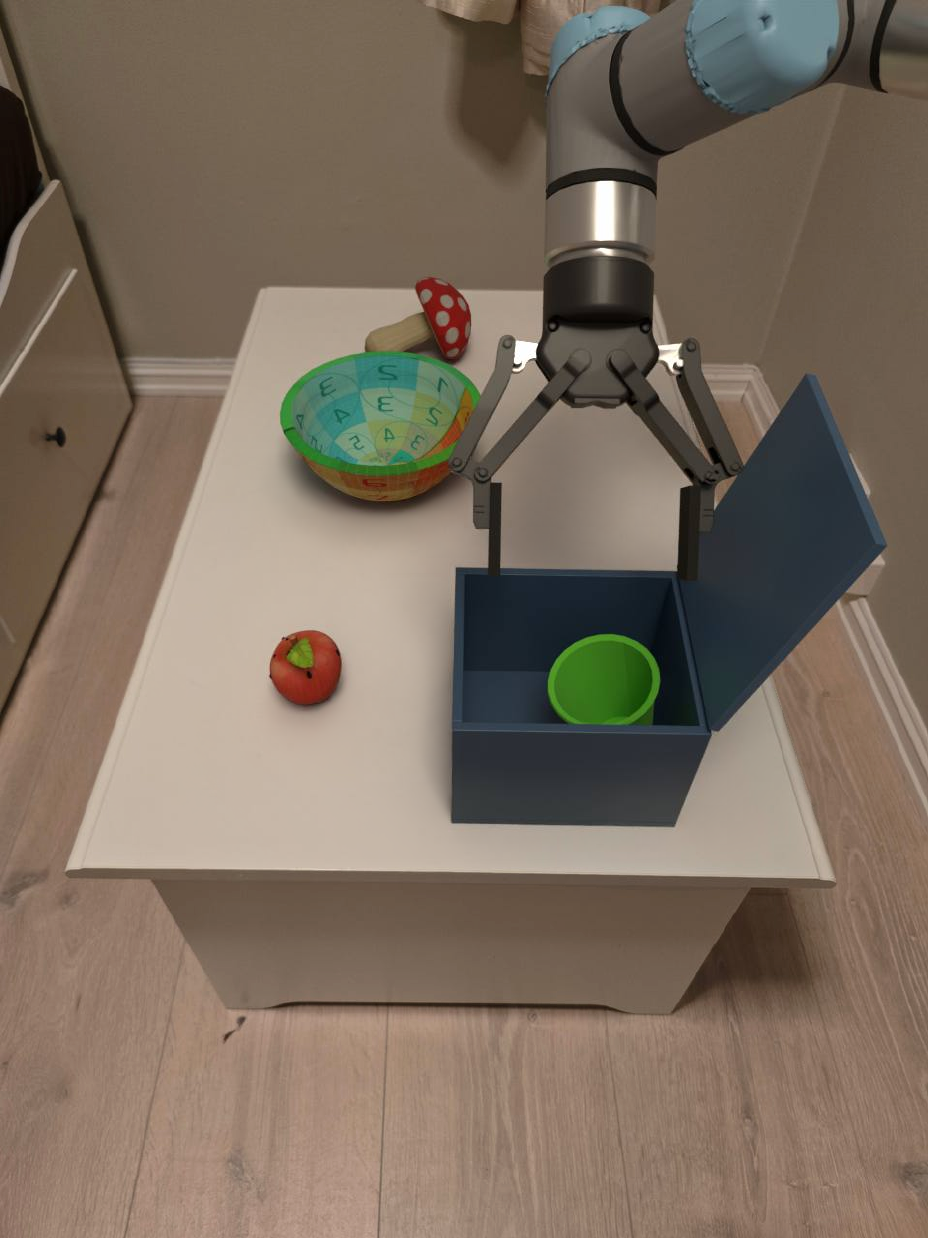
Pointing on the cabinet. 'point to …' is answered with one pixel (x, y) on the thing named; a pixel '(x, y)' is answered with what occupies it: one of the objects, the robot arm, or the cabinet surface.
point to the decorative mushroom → (428, 322)
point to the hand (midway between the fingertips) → (590, 579)
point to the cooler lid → (777, 552)
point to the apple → (306, 667)
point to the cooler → (530, 727)
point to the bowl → (379, 422)
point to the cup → (604, 682)
